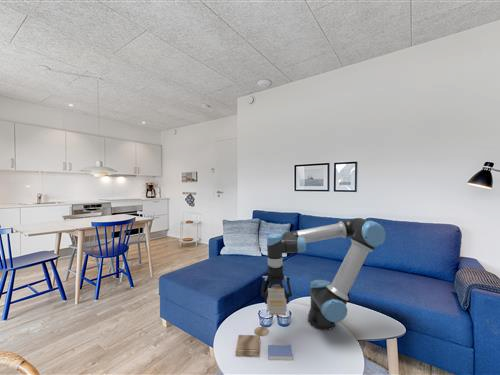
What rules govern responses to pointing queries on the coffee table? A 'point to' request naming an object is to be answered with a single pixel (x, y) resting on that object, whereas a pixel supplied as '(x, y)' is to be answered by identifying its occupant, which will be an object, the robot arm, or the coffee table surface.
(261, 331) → the coaster
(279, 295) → the supplement box
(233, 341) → the coffee table surface
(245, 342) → the podium
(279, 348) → the paperback
